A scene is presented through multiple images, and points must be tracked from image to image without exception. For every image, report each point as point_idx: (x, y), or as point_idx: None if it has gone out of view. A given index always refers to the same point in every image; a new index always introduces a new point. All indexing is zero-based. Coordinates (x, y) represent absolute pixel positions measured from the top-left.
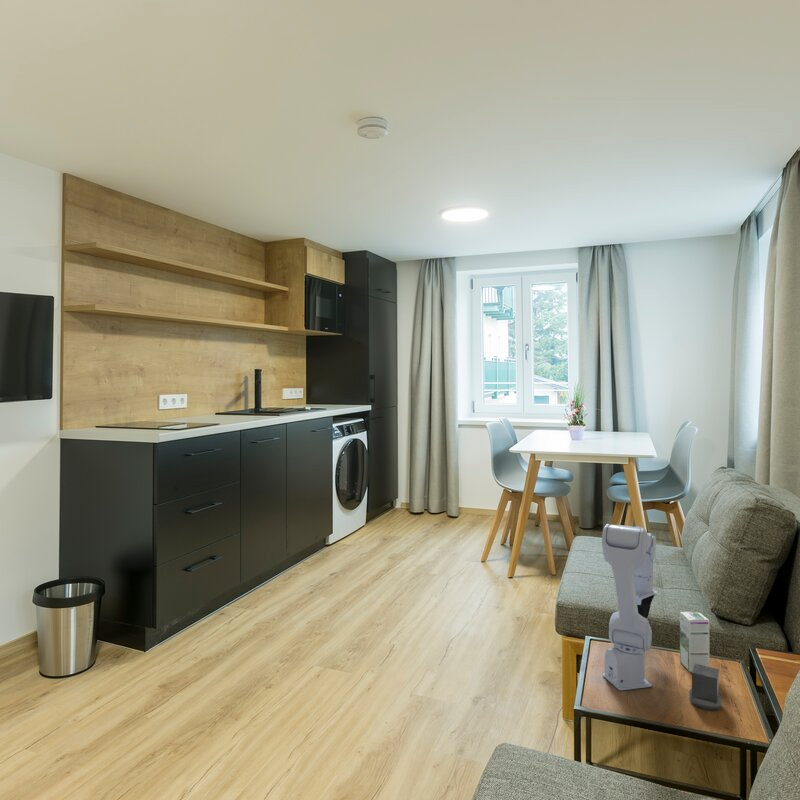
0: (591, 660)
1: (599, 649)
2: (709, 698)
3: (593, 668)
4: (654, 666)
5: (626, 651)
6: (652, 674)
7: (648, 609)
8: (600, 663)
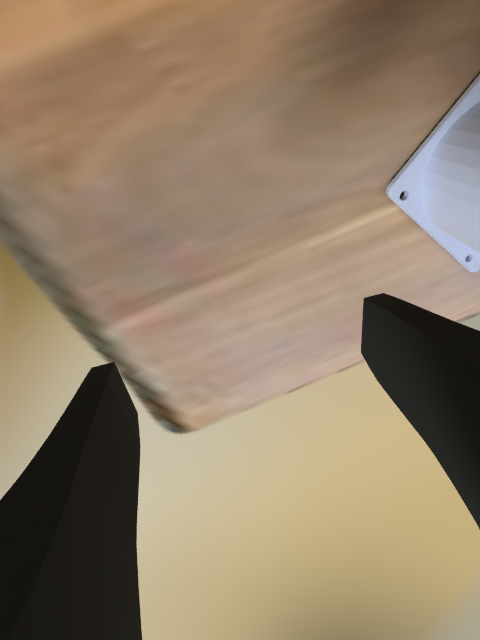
0: None
1: (250, 379)
2: None
3: None
4: (252, 129)
5: None
6: (355, 101)
7: (96, 432)
8: None
